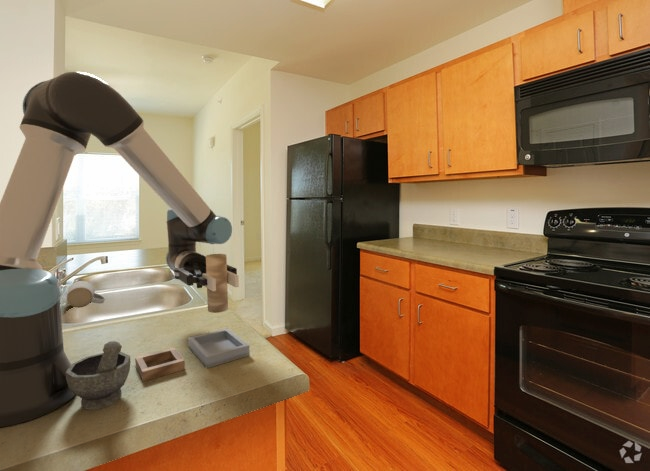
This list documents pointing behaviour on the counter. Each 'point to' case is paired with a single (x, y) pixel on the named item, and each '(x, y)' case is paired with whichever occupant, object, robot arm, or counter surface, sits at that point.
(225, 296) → the dowel
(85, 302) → the ceramic mug
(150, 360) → the socket block
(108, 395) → the mortar and pestle
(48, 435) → the counter surface
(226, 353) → the tray
